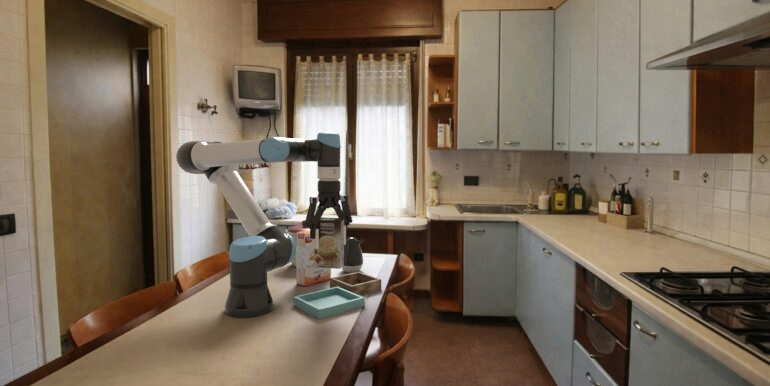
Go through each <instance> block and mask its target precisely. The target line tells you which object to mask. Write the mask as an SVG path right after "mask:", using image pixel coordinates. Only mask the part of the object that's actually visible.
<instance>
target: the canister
mask: <svg viewBox="0 0 770 386" xmlns="http://www.w3.org/2000/svg"><path fill="white" fill-rule="evenodd" d="M305 220H306V219H304V220H302V221H301V224H298V225H294V226H290V227H288V228H287V229H285V233H287V234H289V235H291V236H292V238H293V239H294V241H295V244H296V233H297V232H301V231H307V230H310V228H308V227H305V226H304V224H305ZM290 263H291V264H292V265H293V266H294V267H296V251H295V256H294V258H293V260H292V261H291V262H290Z"/></svg>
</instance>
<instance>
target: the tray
mask: <svg viewBox="0 0 770 386" xmlns="http://www.w3.org/2000/svg"><path fill="white" fill-rule="evenodd" d="M293 306H294V307H296V308H298V309H300V310H302V311H303V312H306V313H307V314H309V315H311V316H313V317H315V318H316V319H318V320H321V319H325V318H328V317H333V316H336V315H339V314H342V313H345V312H349V311H352V310H357V309H360V308H363V307H365V306H366V297H364V296H363V295H357V294H355V293H352V292H350V291H347V290H345V289H342V288H340V287H338V286H337V287H333V288H330V287H329V288H325V289H321V290H316V291H312V292H309V293H304V294H299V295H296V296H295V295H294V296H293Z"/></svg>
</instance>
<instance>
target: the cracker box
mask: <svg viewBox="0 0 770 386" xmlns="http://www.w3.org/2000/svg"><path fill="white" fill-rule="evenodd" d="M314 265H315V249H314V248H312V239H311V238H310V230H307V231H301V232H297V233H296V266H295V267H296V269H295V270H296V271H295V273H296V275H295V279H296V280H295V282H296V284H297V285H300V286H304V287H308V286H310V285H315V284H318V283H321V282H324V281H328V280H329V281H330V278H332V268H315V267H314Z"/></svg>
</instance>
